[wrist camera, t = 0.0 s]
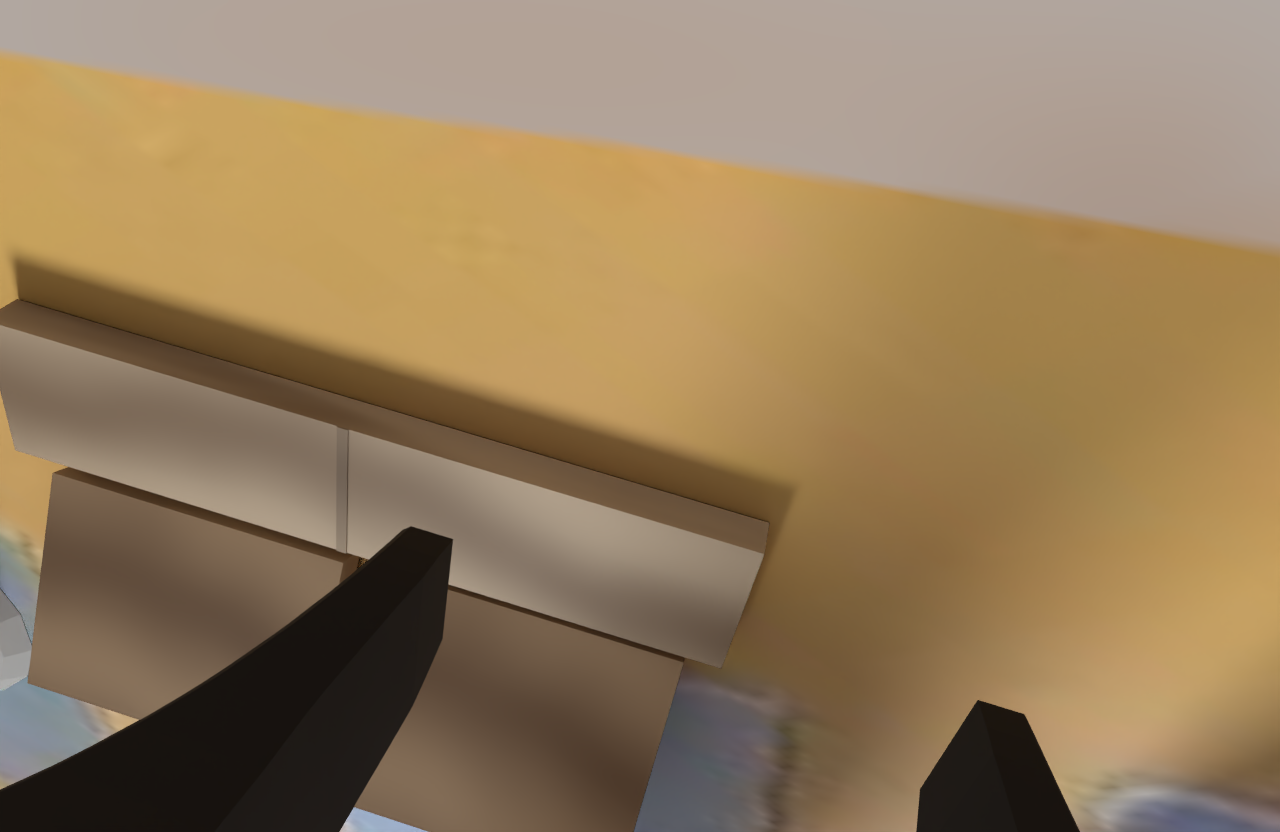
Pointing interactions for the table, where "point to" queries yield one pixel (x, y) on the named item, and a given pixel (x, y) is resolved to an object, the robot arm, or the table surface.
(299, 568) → the plank
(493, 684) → the plank
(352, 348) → the table surface
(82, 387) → the laid board
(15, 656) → the french press
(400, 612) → the robot arm
